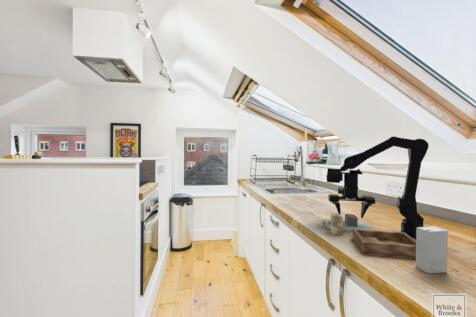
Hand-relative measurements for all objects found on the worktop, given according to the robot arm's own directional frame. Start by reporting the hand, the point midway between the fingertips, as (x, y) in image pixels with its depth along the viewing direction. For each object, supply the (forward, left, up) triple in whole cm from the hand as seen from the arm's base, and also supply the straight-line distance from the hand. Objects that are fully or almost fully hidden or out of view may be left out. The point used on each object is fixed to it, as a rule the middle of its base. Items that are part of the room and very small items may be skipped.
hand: (350, 217), depth 105 cm
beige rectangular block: (+8, +11, -4) cm, 14 cm away
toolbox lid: (+2, 0, -4) cm, 5 cm away
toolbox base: (-6, +23, -4) cm, 24 cm away
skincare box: (-13, +37, -5) cm, 40 cm away
